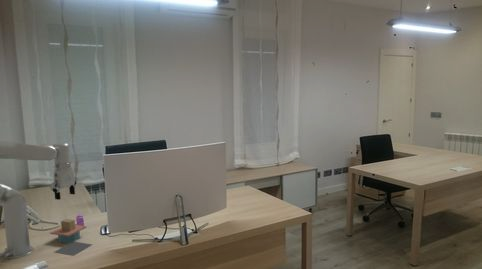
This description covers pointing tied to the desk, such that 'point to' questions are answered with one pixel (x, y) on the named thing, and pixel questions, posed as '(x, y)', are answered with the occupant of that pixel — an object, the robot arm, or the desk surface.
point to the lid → (68, 228)
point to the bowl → (70, 238)
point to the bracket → (80, 220)
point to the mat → (73, 248)
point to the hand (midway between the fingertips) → (65, 196)
